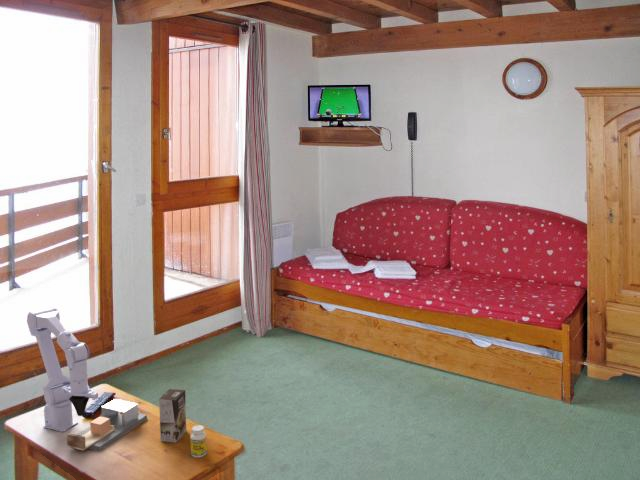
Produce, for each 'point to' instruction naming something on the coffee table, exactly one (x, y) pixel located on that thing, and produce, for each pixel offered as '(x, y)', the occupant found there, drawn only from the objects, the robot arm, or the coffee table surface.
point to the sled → (85, 439)
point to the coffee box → (172, 415)
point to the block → (100, 425)
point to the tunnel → (121, 411)
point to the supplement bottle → (198, 441)
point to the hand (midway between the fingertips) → (81, 414)
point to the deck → (115, 430)
